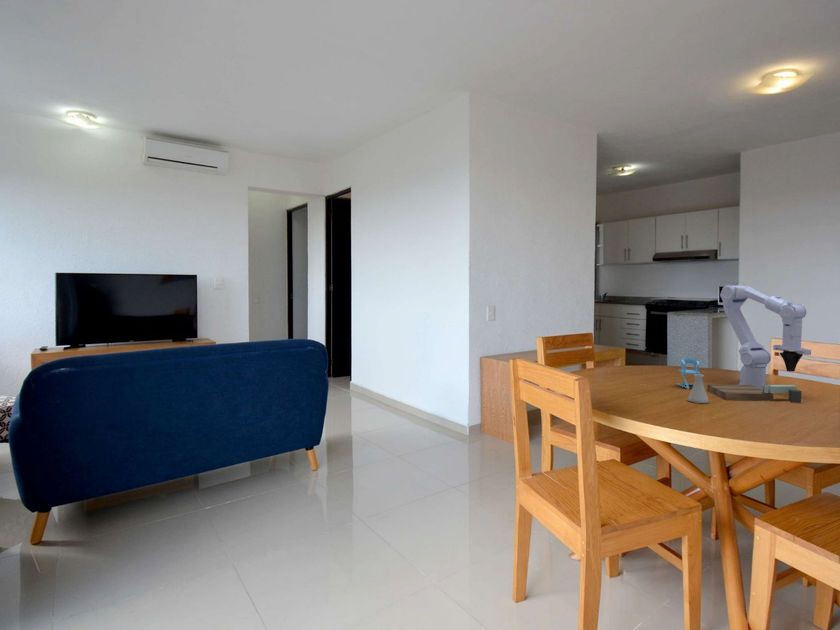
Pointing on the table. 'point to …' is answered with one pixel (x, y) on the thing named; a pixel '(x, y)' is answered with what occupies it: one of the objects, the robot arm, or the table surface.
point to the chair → (684, 371)
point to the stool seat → (740, 392)
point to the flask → (698, 391)
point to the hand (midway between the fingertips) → (790, 371)
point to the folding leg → (777, 388)
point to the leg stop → (794, 396)
